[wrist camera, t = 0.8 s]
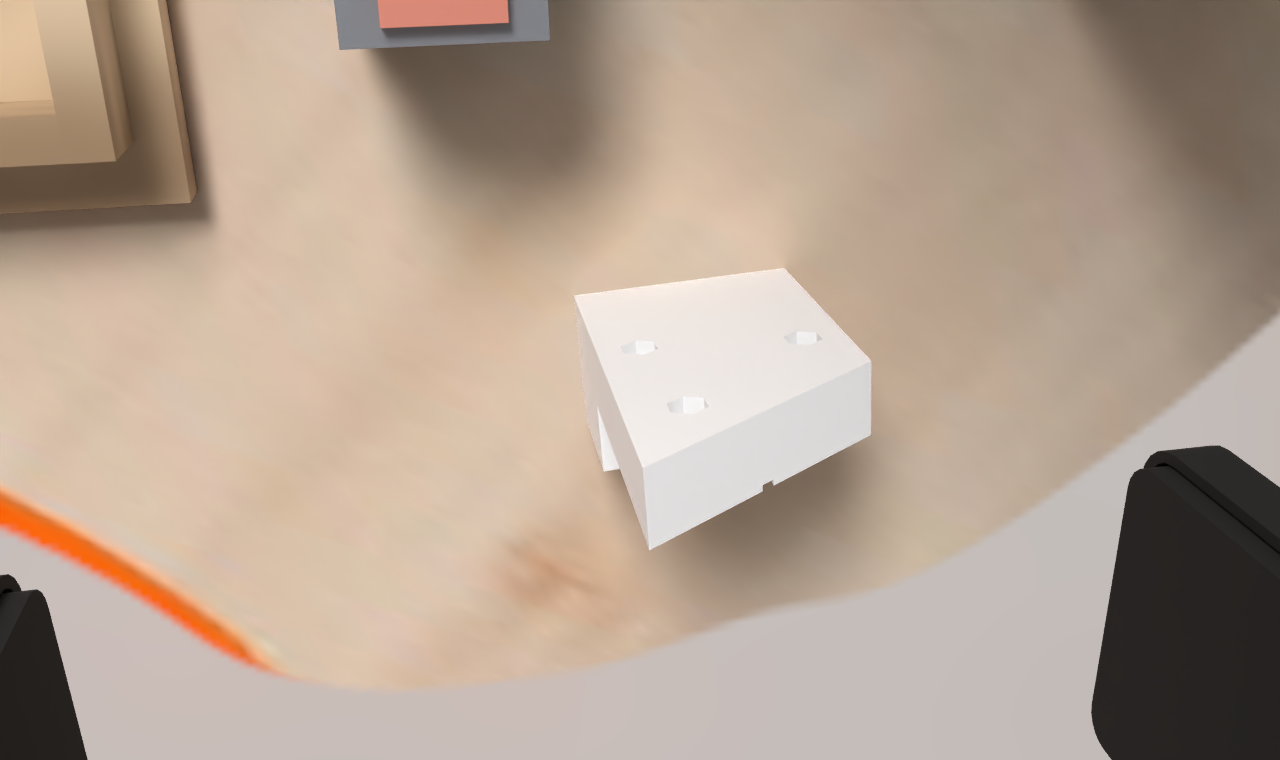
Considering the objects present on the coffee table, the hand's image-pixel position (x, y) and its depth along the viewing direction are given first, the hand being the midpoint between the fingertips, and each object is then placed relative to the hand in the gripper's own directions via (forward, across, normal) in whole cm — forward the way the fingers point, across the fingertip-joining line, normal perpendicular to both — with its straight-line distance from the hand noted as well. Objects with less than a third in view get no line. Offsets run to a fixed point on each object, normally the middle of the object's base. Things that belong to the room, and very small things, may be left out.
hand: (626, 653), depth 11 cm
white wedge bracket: (+22, -5, +6) cm, 23 cm away
